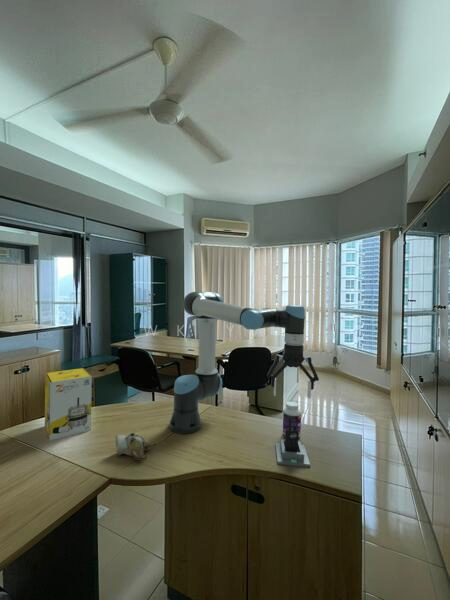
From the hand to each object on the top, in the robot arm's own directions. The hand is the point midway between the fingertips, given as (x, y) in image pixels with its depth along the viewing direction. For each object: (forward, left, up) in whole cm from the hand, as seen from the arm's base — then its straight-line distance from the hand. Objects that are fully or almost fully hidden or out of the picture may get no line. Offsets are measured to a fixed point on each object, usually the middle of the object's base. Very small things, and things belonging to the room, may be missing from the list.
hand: (291, 396), depth 115 cm
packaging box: (-100, +5, -24) cm, 103 cm away
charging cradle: (+1, -1, -24) cm, 24 cm away
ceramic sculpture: (-62, -10, -24) cm, 67 cm away
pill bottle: (+3, +16, -24) cm, 29 cm away
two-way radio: (0, -1, -23) cm, 23 cm away
